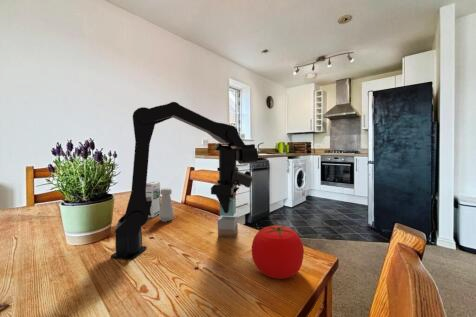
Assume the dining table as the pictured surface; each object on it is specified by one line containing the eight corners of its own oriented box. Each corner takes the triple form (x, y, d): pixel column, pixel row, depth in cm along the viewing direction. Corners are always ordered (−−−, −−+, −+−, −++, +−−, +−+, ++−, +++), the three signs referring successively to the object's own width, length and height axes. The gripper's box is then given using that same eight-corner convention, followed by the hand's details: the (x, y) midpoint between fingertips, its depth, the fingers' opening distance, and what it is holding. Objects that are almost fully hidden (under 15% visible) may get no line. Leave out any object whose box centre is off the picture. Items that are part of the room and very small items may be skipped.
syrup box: (153, 217, 87) (152, 183, 87) (141, 216, 88) (140, 183, 88) (161, 213, 93) (160, 181, 92) (149, 213, 94) (148, 181, 93)
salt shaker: (164, 223, 80) (163, 190, 79) (156, 220, 83) (155, 188, 83) (176, 219, 84) (176, 188, 84) (168, 217, 88) (168, 186, 87)
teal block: (233, 216, 66) (233, 200, 66) (219, 215, 67) (219, 200, 67) (235, 212, 71) (235, 197, 71) (223, 211, 72) (223, 197, 71)
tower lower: (234, 238, 66) (234, 229, 66) (218, 237, 67) (217, 228, 67) (237, 232, 72) (237, 223, 71) (222, 231, 72) (222, 222, 72)
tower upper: (234, 229, 66) (234, 220, 66) (217, 228, 67) (217, 219, 67) (237, 223, 71) (237, 215, 71) (222, 223, 72) (221, 214, 72)
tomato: (278, 296, 39) (278, 242, 39) (241, 268, 49) (241, 225, 49) (315, 274, 46) (315, 228, 46) (276, 253, 56) (276, 215, 56)
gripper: (248, 166, 58) (248, 221, 58) (254, 162, 76) (254, 204, 77) (210, 166, 60) (210, 219, 60) (225, 162, 78) (225, 203, 79)
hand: (227, 210), depth 69 cm, fingers closed on teal block, 4 cm apart
